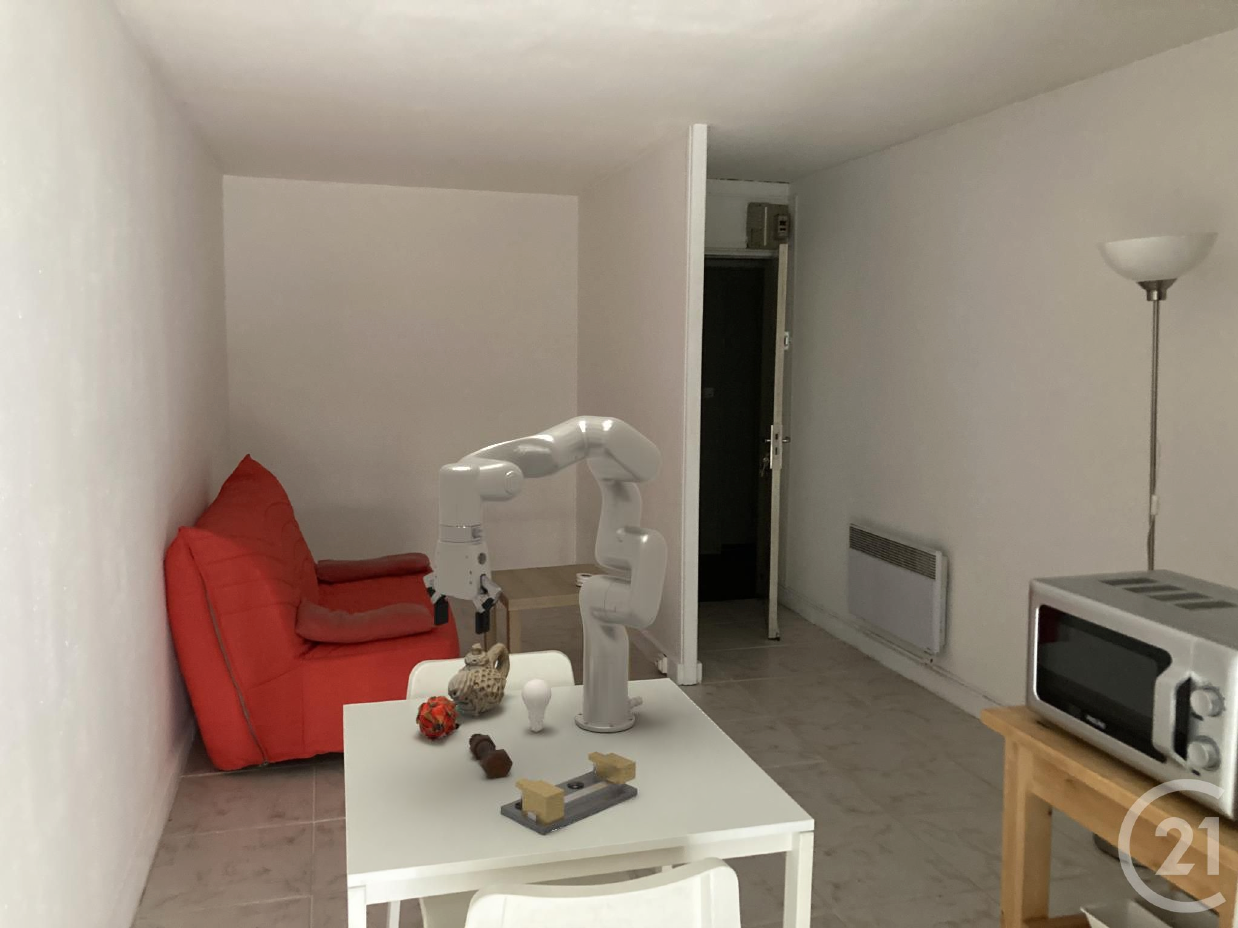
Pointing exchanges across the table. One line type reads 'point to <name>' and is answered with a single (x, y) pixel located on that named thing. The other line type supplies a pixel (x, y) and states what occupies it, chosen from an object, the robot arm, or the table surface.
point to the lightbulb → (536, 701)
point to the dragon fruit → (437, 717)
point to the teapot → (480, 680)
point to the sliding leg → (613, 767)
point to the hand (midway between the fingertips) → (461, 628)
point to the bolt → (490, 756)
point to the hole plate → (564, 801)
